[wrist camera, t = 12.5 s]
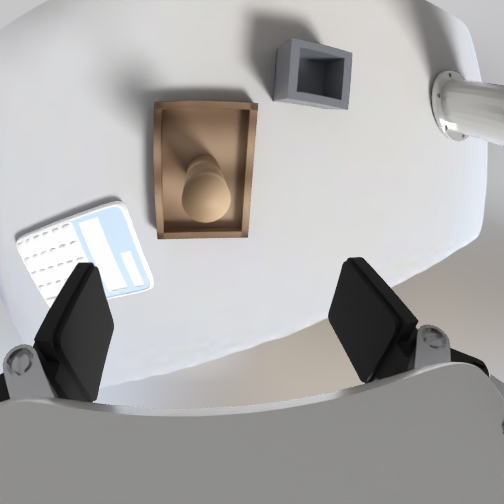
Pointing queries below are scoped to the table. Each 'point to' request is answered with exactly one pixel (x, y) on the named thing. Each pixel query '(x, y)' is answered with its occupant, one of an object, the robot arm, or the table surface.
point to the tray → (196, 143)
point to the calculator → (87, 252)
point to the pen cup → (312, 75)
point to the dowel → (205, 190)
